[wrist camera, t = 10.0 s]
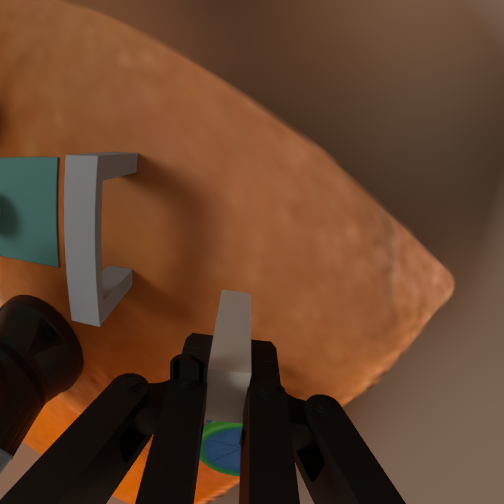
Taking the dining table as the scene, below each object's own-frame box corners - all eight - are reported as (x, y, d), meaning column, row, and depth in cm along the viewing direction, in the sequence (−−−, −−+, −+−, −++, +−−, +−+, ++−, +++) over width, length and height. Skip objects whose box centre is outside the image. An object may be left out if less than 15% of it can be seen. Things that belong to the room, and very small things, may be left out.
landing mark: (59, 266, 33) (58, 267, 33) (-9, 252, 33) (-10, 253, 33) (58, 157, 29) (57, 157, 29) (-13, 158, 29) (-14, 158, 29)
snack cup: (206, 343, 36) (194, 402, 27) (295, 350, 37) (307, 410, 27) (204, 427, 41) (196, 482, 31) (276, 432, 41) (280, 487, 32)
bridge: (138, 153, 30) (97, 156, 21) (132, 285, 34) (99, 327, 25) (112, 151, 30) (66, 155, 21) (108, 281, 34) (71, 320, 25)
